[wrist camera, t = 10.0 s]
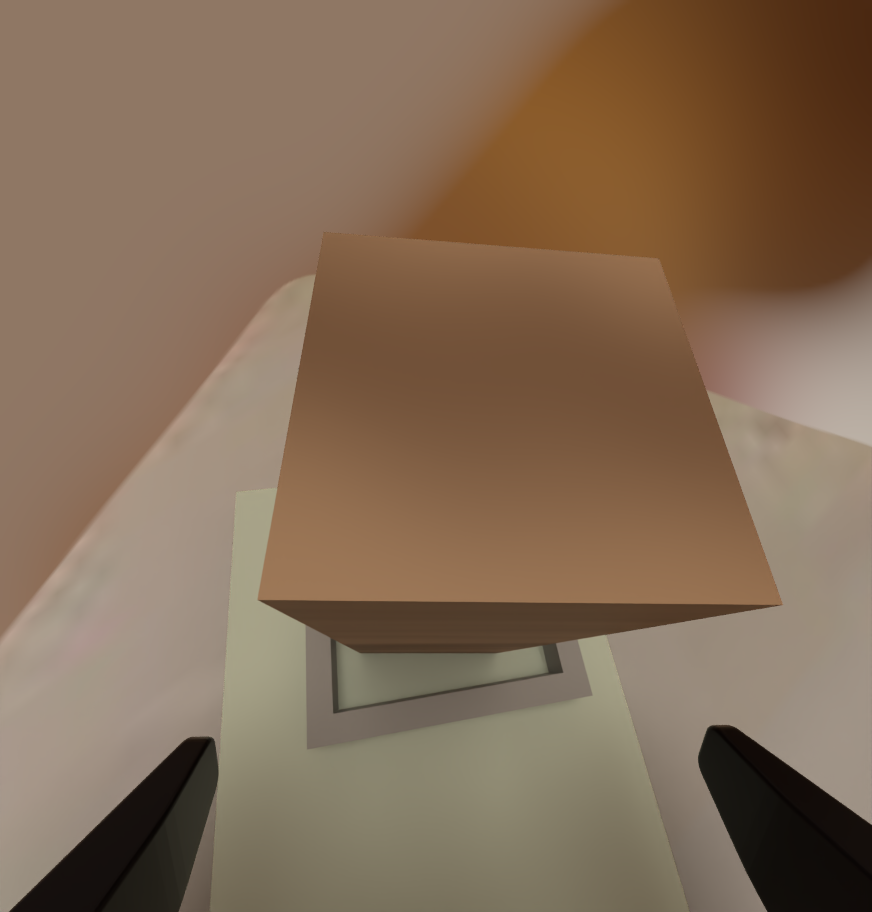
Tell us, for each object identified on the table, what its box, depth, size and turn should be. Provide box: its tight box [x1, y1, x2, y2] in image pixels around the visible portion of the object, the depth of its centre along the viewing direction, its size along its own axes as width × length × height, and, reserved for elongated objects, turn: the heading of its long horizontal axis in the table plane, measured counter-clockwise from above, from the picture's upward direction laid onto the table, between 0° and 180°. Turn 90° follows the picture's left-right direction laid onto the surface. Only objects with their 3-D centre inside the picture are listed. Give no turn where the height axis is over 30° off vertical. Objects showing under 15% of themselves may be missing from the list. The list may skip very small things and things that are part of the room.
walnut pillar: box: [257, 232, 783, 653], centre depth 11 cm, size 5×5×13 cm
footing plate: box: [210, 488, 690, 912], centre depth 15 cm, size 17×14×3 cm
